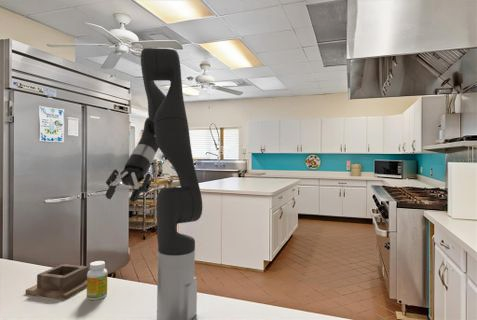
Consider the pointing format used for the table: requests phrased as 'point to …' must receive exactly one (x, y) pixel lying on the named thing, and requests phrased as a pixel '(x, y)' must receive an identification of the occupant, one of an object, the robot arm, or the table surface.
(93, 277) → the supplement bottle
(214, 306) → the table surface
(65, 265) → the box
